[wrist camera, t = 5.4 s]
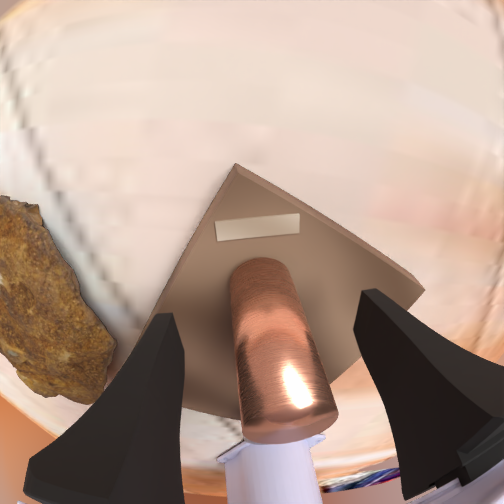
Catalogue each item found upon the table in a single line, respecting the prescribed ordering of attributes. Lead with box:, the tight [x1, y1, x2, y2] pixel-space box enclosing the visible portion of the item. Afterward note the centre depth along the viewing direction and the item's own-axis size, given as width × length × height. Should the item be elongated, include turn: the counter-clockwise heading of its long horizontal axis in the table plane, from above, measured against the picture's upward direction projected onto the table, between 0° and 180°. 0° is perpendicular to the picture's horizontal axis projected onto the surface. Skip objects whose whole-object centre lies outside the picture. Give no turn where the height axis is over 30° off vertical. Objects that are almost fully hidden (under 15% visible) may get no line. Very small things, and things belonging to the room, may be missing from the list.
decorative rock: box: [0, 195, 117, 405], centre depth 13 cm, size 11×4×15 cm
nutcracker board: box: [135, 163, 425, 420], centre depth 16 cm, size 15×12×2 cm
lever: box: [230, 257, 338, 445], centre depth 13 cm, size 14×4×6 cm, turn 3°
